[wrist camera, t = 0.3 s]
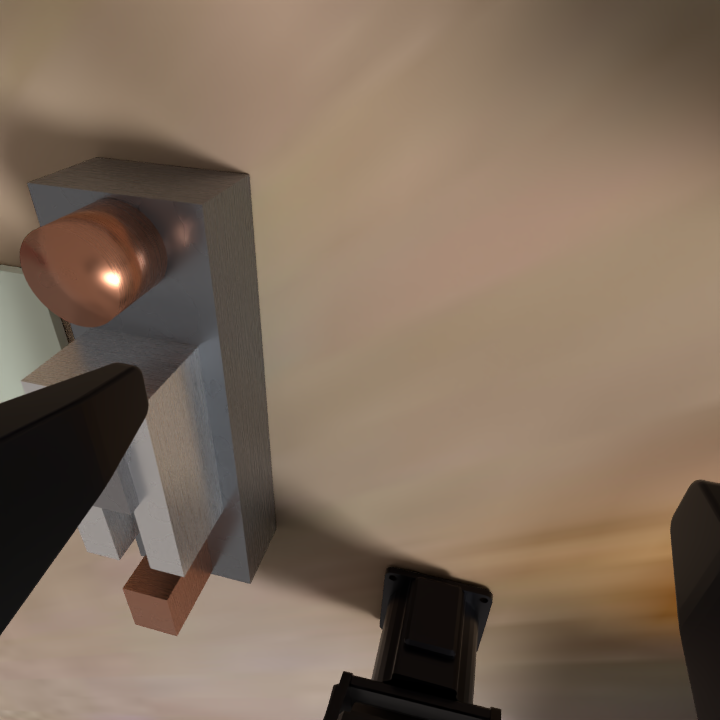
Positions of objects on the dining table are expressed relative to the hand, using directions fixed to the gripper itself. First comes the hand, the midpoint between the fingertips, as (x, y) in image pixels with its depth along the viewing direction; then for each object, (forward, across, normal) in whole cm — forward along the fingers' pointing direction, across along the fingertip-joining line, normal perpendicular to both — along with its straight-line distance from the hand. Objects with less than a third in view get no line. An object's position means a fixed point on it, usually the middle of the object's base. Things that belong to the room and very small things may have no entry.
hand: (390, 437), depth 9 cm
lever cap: (+10, +12, +11) cm, 19 cm away
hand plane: (+14, +12, +11) cm, 22 cm away
